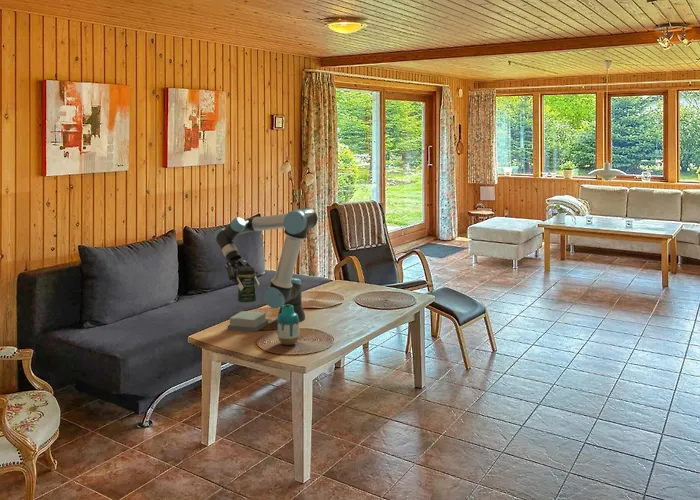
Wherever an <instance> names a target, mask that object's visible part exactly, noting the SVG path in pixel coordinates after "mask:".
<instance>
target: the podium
mask: <svg viewBox="0 0 700 500" xmlns="http://www.w3.org/2000/svg"><path fill="white" fill-rule="evenodd" d="M266 318H267V316H266V312H257V311H256V312H255V311H245V310H241V311H240V312H238V313H236V314H235V315H233V316H230V317H229V324H228V325H227V330H228V331H229V330H230V331H241V332H251V333H252V332H253V333H255V332H258V331H259V330H261V329H262V328H264V327H265V326H267V325H268V324H269V319H266ZM267 323H268V324H267ZM266 324H267V325H266ZM263 326H264V327H263Z"/></svg>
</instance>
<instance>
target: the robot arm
mask: <svg viewBox="0 0 700 500" xmlns="http://www.w3.org/2000/svg"><path fill="white" fill-rule="evenodd" d="M318 218H319V217H318V214H317V212H316V211H315V210H314V209H312V208H311V207H302V208H299V209H293V210H291V211H289V212H287V213H281V214H280V213H279V214H273V215H272V214H271V215H264V216H257V217H256V216H255V217H246V218H242V217H239V216H236V217H235V218H233V219H232V220H231V221H230V222H229V224H228V225H227V226H226V227H225V228H219V229H218V230H216V231H214V233H213V234H214V235H213V236H214V239H215V242H216V243H217V245H218V247H219V248H220V250H221V252H222V254H223V256H224V257H225V259H226V261H227V262H226V263H225V265H224V267H225V269H226V272H227V276H228V279H229V281H232V282H234V283H235V285H236V286H237V287H238V288H239V289H240V291H242V289H243V288H244V287H243V285H242V283H241V282H240V280H239V278H238V277H237V271H238V267H251V266H253V265H252V264H251V262H250V261H249V259H248V258H246V259H243V258H242V255H241V254H240V252H239V251H238V250H239V249H238V247H236V245H235V243H234V240H236V238H237V237H238V236H239V235H243V234H246V233H250V232H251V233H252V232H258V231H267V230H277V229H284V231H283V232H284V235H285V239H284V242H283V246H282V250H281V253H280V257H279V261H278V265H277V268H276V272H275V276H274V277H272V278H271V280H270V284H269V286H268V287H267V288H266V289H265V291H264V292H263V300H264V301H265V303H266V305H267V306H268V307H270V308H273V309H278V313H277V316H278V315H279V314H280V313H282V306H283V305H287V304H290V305H293V308H294V312H295V313H297V315H298V317H299V322H303V321H304V320H305V319H306V314H305V311H304V308H303V301H302V299H303V298H302V280H301V279H300V278H297V277H293V274H294V270H295V268H296V264H297V261H298V257H299V254H300V250H301V246H302V242H303V241H304V240H305V239H307V235H308V232H309V230H312V229H313V228H315V227H316V225H317V223H318V220H319V219H318ZM254 269H255V273H256V274H255V278H254V281H255V288H258V287H259V286H260V285H261V284H260V282H259V278H258V276H257V275H258V273H259V272H258V271H257V269H256V268H255V267H254Z"/></svg>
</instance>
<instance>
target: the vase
mask: <svg viewBox="0 0 700 500" xmlns="http://www.w3.org/2000/svg"><path fill="white" fill-rule="evenodd" d="M276 324H277V325H276V329H277V331H276V332H277V338H278V341H279V342H280V343H281V344H282V345H286V346H290V345H294V344H296V343H297V342H298V341H299V338H300V321H299V317H298V315H297V313H295V312H294V308H293V305H290V304H287V305H283V306H282V313H280V314H279V315H278V314H277V320H276Z"/></svg>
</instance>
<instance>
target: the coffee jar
mask: <svg viewBox="0 0 700 500" xmlns="http://www.w3.org/2000/svg"><path fill="white" fill-rule="evenodd" d="M254 268H255V267H254V265H252V266H251V267H238V269H237V277H236V278H239V280H240V282H241V283H242V285H243V287H244V288H243V289H242V291H240V289H239V287H238V290H237V302H239V303H253V302H255V301H257V292H256V285H255V281H254V278H255V274H256V273H255V269H256V268H255V269H254ZM256 275H257V274H256Z"/></svg>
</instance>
